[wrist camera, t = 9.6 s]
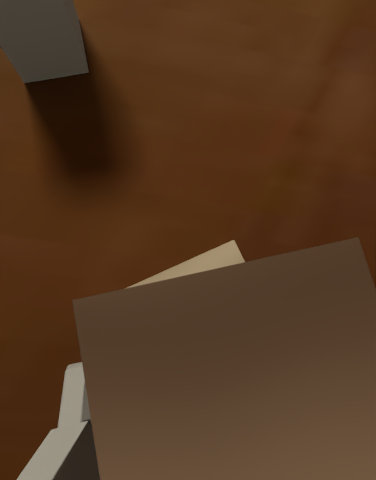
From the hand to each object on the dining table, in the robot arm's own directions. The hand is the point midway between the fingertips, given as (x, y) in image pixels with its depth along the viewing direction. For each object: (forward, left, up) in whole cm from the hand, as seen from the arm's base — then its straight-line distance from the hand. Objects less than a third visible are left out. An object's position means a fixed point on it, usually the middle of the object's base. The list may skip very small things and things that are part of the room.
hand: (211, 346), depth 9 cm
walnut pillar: (0, -1, -5) cm, 5 cm away
